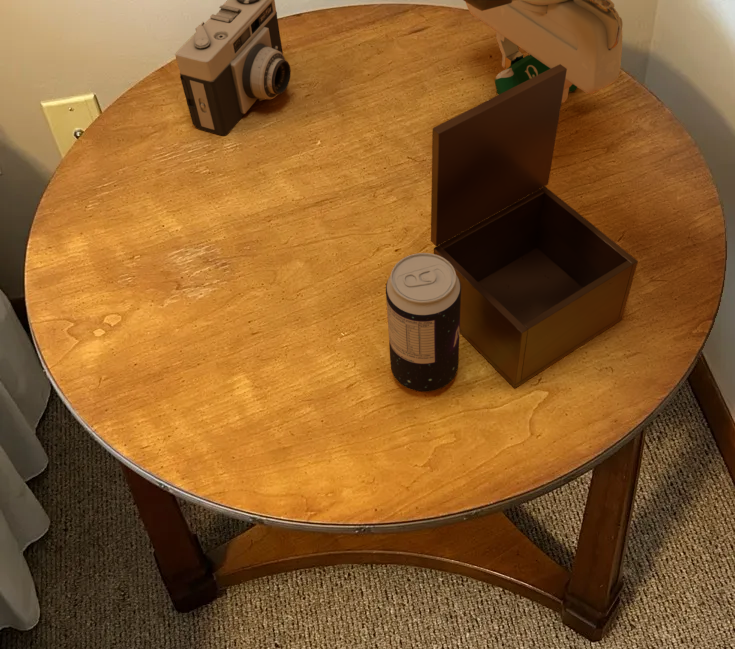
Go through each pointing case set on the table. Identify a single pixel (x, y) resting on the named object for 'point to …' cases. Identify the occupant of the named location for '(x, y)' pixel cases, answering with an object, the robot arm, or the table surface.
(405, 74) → the table surface
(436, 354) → the beverage can
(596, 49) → the robot arm
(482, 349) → the chest
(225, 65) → the camera
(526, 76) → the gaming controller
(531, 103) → the lid
